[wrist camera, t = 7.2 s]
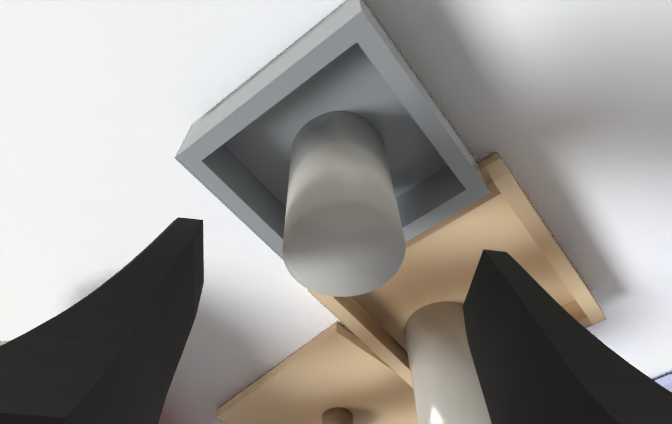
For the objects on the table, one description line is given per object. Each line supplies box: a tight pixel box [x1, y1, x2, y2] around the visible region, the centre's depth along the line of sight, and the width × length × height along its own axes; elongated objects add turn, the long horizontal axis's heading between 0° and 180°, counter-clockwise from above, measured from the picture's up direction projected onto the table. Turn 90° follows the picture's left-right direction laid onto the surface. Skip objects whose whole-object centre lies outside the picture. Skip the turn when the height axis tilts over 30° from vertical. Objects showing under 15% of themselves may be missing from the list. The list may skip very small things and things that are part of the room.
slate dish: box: [175, 0, 491, 260], centre depth 18 cm, size 7×7×2 cm
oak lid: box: [216, 322, 419, 424], centre depth 27 cm, size 9×9×2 cm
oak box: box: [308, 152, 607, 388], centre depth 22 cm, size 9×9×2 cm
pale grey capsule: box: [283, 112, 406, 297], centre depth 17 cm, size 3×3×6 cm
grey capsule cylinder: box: [404, 301, 491, 424], centre depth 22 cm, size 3×3×6 cm
